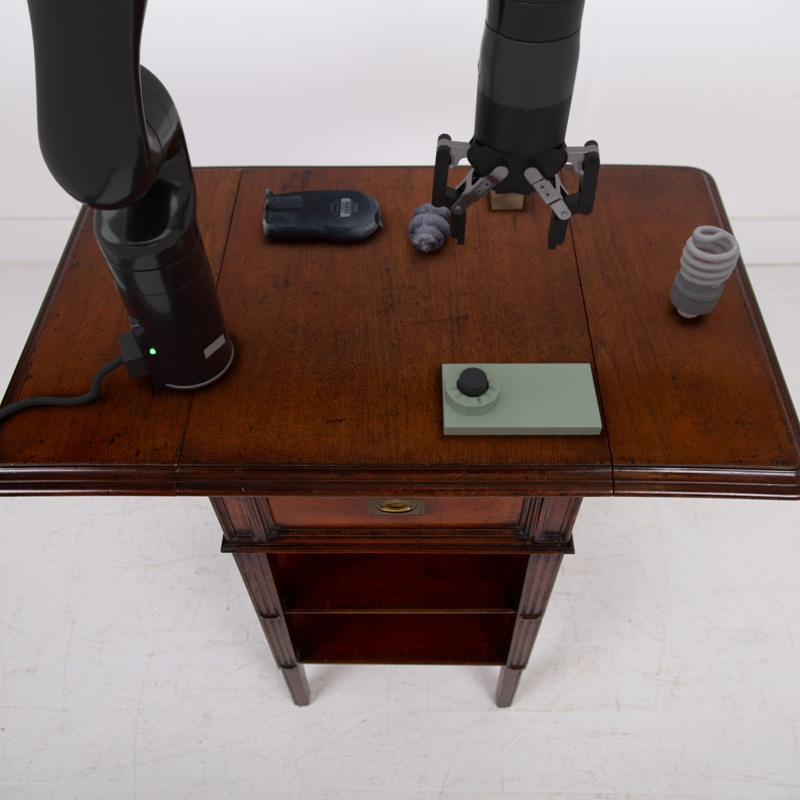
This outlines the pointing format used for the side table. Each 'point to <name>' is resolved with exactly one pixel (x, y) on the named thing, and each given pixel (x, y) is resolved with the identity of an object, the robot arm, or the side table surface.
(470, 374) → the button
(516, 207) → the block
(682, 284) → the light bulb
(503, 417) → the pale green flat block
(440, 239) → the seashell
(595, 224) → the side table surface
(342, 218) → the electronic device
